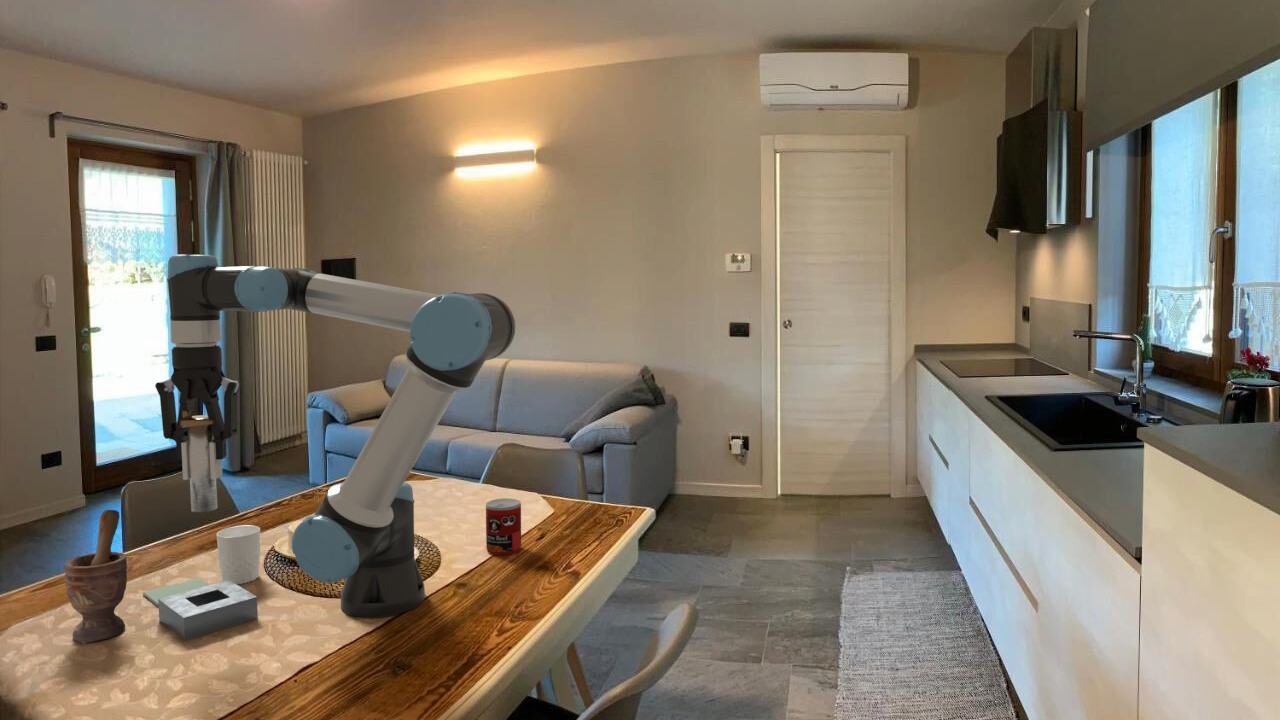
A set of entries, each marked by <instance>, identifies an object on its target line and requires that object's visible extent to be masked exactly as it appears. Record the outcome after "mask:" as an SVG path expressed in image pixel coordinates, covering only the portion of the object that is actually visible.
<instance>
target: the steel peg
mask: <svg viewBox="0 0 1280 720" xmlns="http://www.w3.org/2000/svg"><path fill="white" fill-rule="evenodd" d="M212 426H215V419H208V415H207V414H201V415H199V414H198V415H192V417H191V418H190V410H182V419H179V427H181V428H187V430H188V439H187V440H188V450H189V470H190V479H189V489H190V505H191V512H192V513H206V512H210V511H211V512H212V511H214V510H216V509H218V494H217V493H218V491H217V488H218V487H217V479H211V470H210V449H209V442H212V440H213V439H214V438H213V434H212V430H211V427H212Z"/></svg>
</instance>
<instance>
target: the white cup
mask: <svg viewBox="0 0 1280 720" xmlns="http://www.w3.org/2000/svg"><path fill="white" fill-rule="evenodd" d="M215 535H216V543H217V553H218V554H217V555H218V561H219V569H220V576H221V582H224V581H228V580H230V581H232V582H233V583H235V584H237V585H244V584H247V582H248V583H251V582H254V581H256V580H257V579H258V578H259V576H260V560H261V559H260V558H261V557H260V556H261V528H260V526H257V525H253V524H252V525H250V524H249V525H247V524H246V525H236V526H231V527H226V528H222V529H220V530H219V531H217V532H216V533H215ZM256 578H257V579H256ZM250 581H251V582H250ZM243 583H244V584H243Z"/></svg>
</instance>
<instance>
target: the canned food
mask: <svg viewBox="0 0 1280 720" xmlns="http://www.w3.org/2000/svg"><path fill="white" fill-rule="evenodd" d="M485 530H486V531H485V538H486V539H485V541H486V545H485V546H486V547H485V548H486V550H487V551H486V552H488V553H489V554H491V555H494V556H510V555H513V554H516V553H518V552H519V551H521V548H522V547H521V546H522V504H521V501H520V500H518V499H516V498H496V499H492V500H490V501H487V502H486V503H485Z"/></svg>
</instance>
